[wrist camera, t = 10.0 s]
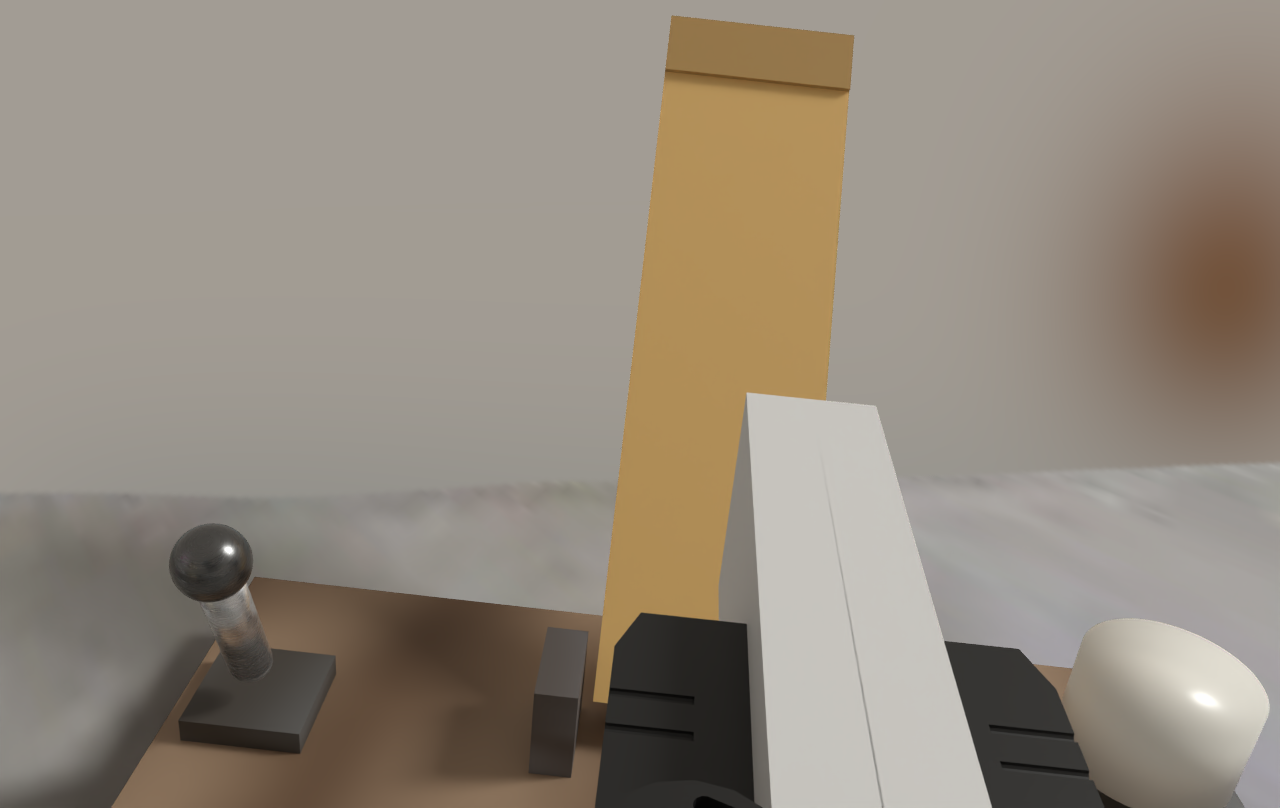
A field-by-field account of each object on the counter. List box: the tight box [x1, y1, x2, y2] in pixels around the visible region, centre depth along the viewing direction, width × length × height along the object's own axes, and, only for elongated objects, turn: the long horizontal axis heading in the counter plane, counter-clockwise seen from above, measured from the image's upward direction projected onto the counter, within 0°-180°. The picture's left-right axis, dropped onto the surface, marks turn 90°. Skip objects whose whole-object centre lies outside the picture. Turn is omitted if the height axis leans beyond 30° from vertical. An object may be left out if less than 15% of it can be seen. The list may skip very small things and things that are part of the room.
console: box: [111, 577, 1244, 808], centre depth 27 cm, size 26×10×4 cm, turn 87°
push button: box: [1061, 618, 1270, 808], centre depth 26 cm, size 4×4×2 cm
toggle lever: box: [169, 524, 273, 682], centre depth 24 cm, size 2×2×5 cm
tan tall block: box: [593, 16, 854, 703], centre depth 29 cm, size 5×2×18 cm
